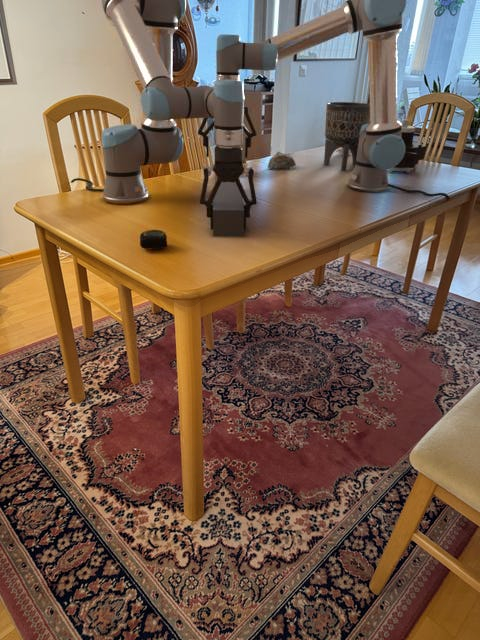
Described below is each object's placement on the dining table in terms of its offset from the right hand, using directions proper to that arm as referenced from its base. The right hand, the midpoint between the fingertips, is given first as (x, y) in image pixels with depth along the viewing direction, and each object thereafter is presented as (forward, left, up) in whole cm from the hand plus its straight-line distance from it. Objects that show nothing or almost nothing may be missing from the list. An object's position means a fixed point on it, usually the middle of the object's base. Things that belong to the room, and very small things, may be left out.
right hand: (226, 156), depth 160 cm
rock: (-21, -46, -13) cm, 52 cm away
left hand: (-4, +41, -12) cm, 43 cm away
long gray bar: (-2, +20, -13) cm, 24 cm away
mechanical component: (-76, -55, -13) cm, 95 cm away
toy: (-1, -31, -13) cm, 34 cm away
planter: (-48, -54, -13) cm, 73 cm away
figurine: (-54, -86, -13) cm, 102 cm away
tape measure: (+13, +58, -13) cm, 61 cm away
